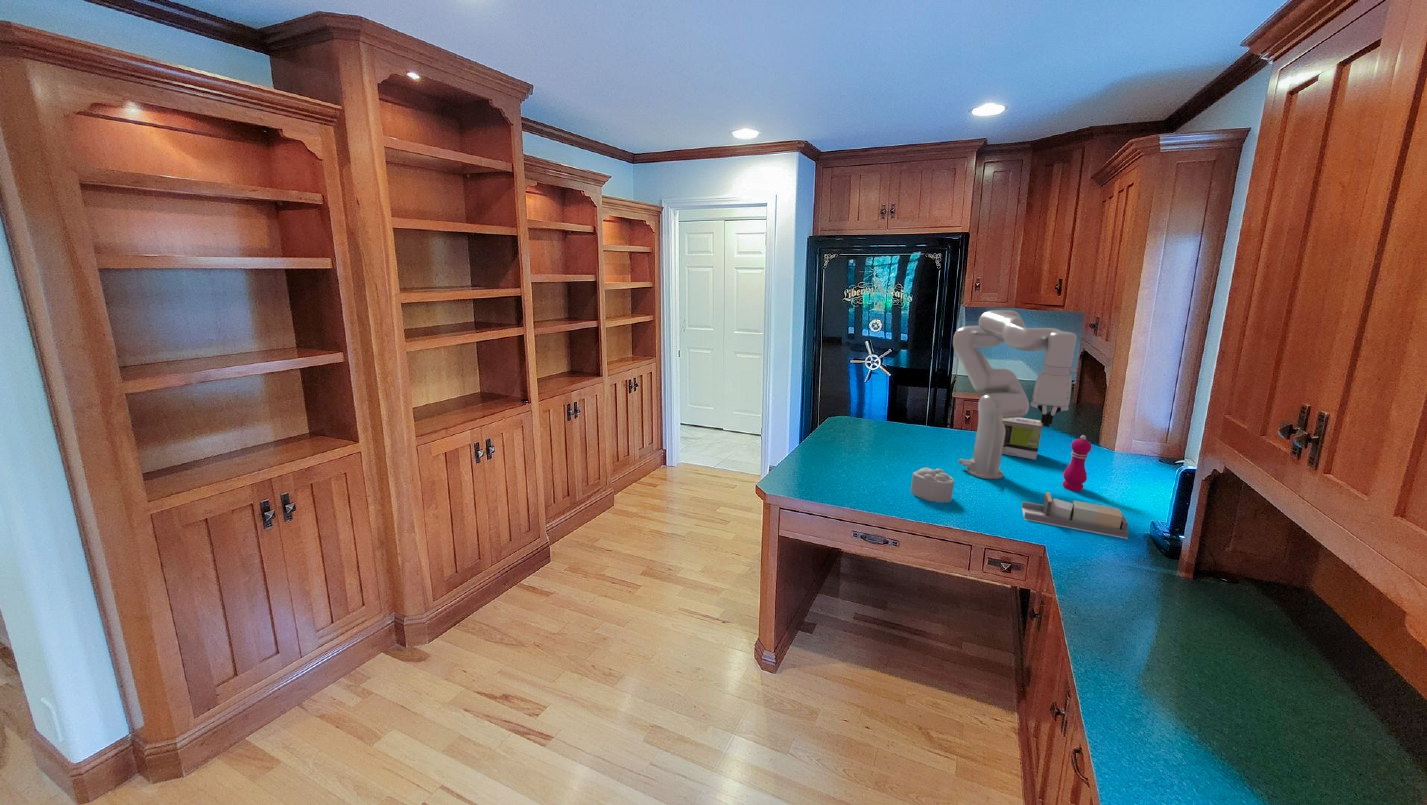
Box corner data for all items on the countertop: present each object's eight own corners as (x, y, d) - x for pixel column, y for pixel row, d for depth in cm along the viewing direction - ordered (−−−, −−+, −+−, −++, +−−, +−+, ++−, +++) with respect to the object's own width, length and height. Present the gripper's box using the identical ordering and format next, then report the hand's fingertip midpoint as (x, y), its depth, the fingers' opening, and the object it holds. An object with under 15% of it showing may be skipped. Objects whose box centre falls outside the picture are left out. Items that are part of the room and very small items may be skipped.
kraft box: (1094, 528, 169) (1098, 512, 168) (1092, 520, 174) (1096, 504, 173) (1118, 533, 167) (1122, 517, 165) (1115, 525, 172) (1119, 509, 170)
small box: (1068, 524, 172) (1071, 510, 170) (1047, 518, 175) (1049, 504, 174) (1071, 517, 176) (1074, 503, 174) (1050, 511, 179) (1053, 497, 178)
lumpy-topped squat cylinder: (921, 485, 201) (924, 462, 198) (957, 497, 191) (961, 473, 189) (907, 493, 194) (910, 469, 191) (943, 505, 185) (946, 481, 182)
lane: (1023, 522, 174) (1026, 507, 173) (1021, 508, 184) (1023, 494, 183) (1127, 541, 164) (1131, 526, 163) (1118, 525, 174) (1122, 511, 172)
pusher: (1044, 519, 174) (1048, 500, 172) (1042, 510, 180) (1045, 492, 178) (1048, 520, 173) (1052, 501, 172) (1045, 511, 179) (1049, 492, 178)
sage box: (1071, 523, 172) (1075, 507, 171) (1070, 516, 177) (1073, 500, 176) (1094, 528, 169) (1098, 512, 168) (1092, 520, 174) (1096, 504, 173)
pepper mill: (1087, 492, 197) (1099, 439, 192) (1065, 490, 199) (1076, 437, 193) (1079, 484, 204) (1090, 433, 199) (1057, 482, 205) (1068, 431, 200)
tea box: (1037, 453, 235) (1043, 420, 231) (1035, 460, 227) (1042, 426, 223) (998, 446, 243) (1003, 413, 239) (995, 453, 235) (1000, 419, 231)
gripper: (1081, 371, 178) (1070, 425, 183) (1028, 366, 183) (1018, 419, 188) (1085, 375, 171) (1074, 432, 176) (1030, 370, 177) (1020, 425, 182)
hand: (1045, 425), depth 182 cm, fingers closed
